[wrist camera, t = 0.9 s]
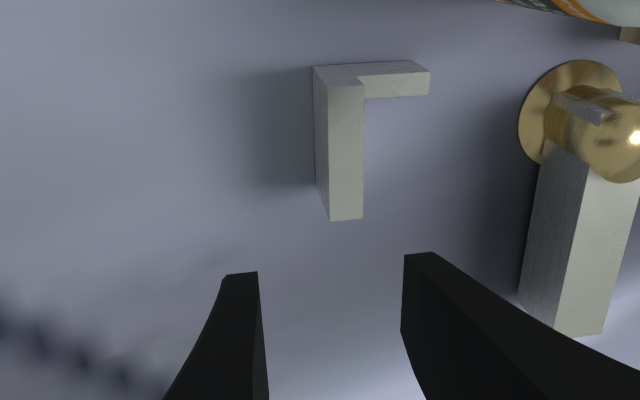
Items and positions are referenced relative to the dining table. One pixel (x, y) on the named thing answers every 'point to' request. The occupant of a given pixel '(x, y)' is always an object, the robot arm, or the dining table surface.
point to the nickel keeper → (352, 125)
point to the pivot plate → (543, 93)
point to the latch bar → (581, 208)
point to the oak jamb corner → (630, 35)
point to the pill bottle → (589, 10)
